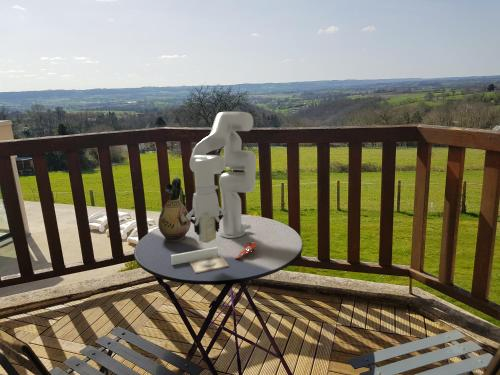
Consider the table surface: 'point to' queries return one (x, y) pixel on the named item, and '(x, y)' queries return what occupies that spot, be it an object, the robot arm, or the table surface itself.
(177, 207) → the ceramic jug
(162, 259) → the table surface
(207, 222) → the skincare box
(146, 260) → the table surface
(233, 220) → the robot arm
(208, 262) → the cork pad
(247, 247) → the fish
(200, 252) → the acrylic wall
